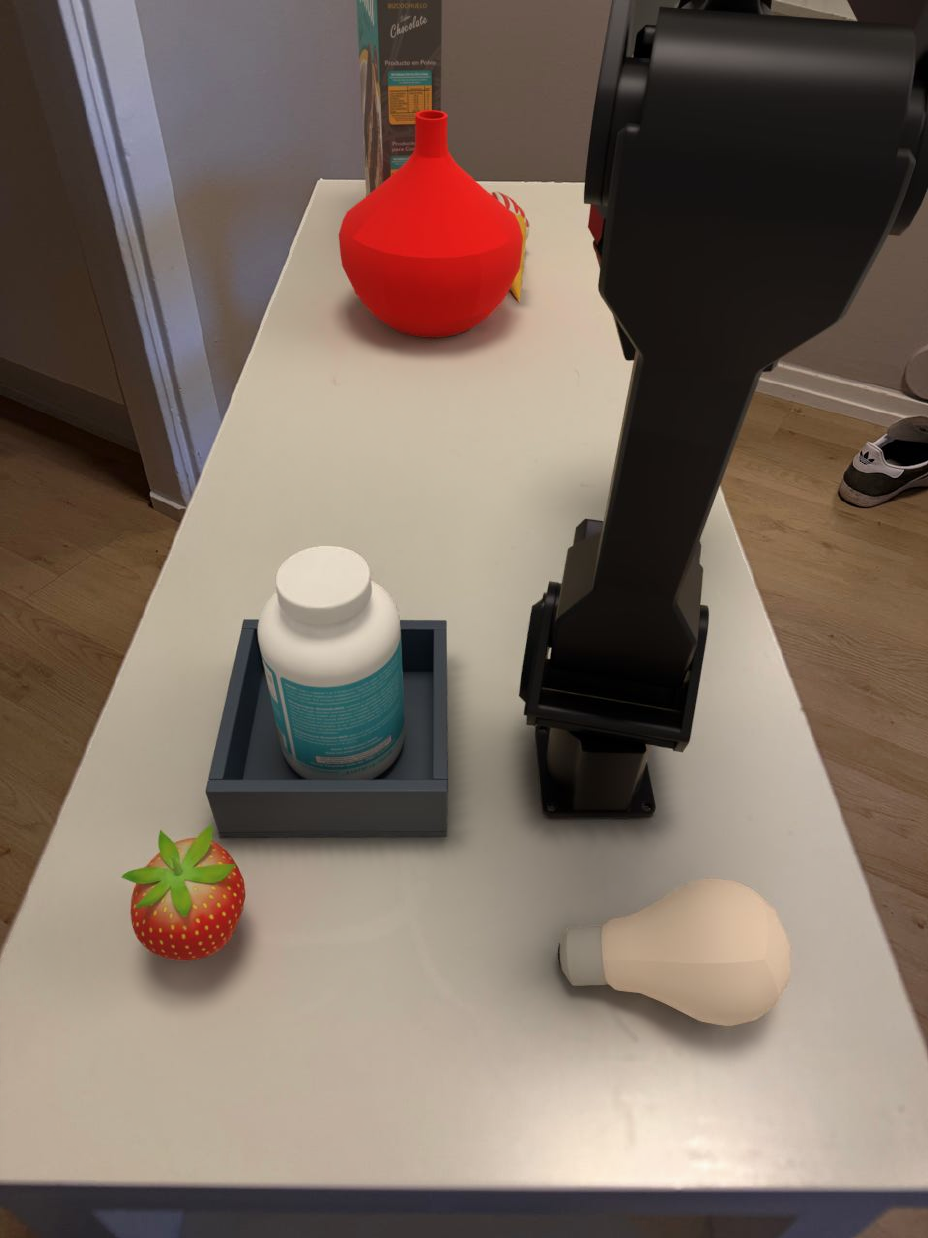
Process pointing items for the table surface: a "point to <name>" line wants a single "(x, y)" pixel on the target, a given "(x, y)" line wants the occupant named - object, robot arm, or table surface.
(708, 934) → the light bulb
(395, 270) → the vase
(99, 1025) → the table surface
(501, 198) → the ice cream cone
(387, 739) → the pill bottle
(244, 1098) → the table surface
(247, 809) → the bin
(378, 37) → the cake mix box
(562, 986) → the table surface
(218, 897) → the fruit
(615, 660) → the robot arm
